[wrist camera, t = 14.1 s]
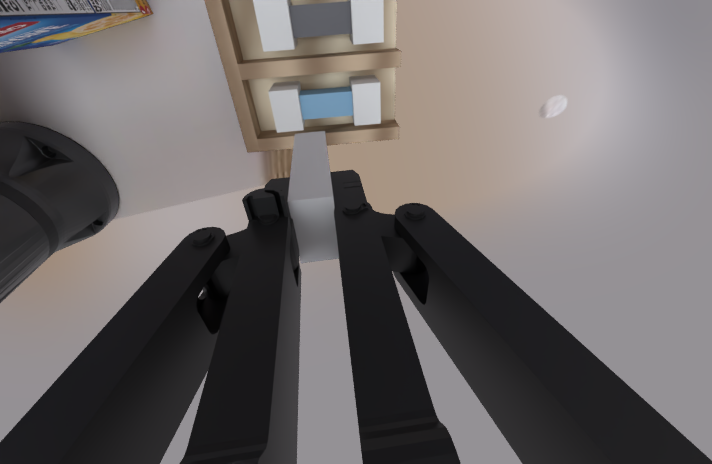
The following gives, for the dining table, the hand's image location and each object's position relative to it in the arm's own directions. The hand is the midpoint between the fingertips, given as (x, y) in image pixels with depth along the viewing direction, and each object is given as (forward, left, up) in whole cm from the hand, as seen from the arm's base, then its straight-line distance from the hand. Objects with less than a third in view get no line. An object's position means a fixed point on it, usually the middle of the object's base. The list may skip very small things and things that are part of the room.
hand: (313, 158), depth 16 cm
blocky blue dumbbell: (+1, -2, -22) cm, 22 cm away
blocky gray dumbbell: (+1, +5, -22) cm, 22 cm away
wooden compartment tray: (+1, +2, -23) cm, 23 cm away
